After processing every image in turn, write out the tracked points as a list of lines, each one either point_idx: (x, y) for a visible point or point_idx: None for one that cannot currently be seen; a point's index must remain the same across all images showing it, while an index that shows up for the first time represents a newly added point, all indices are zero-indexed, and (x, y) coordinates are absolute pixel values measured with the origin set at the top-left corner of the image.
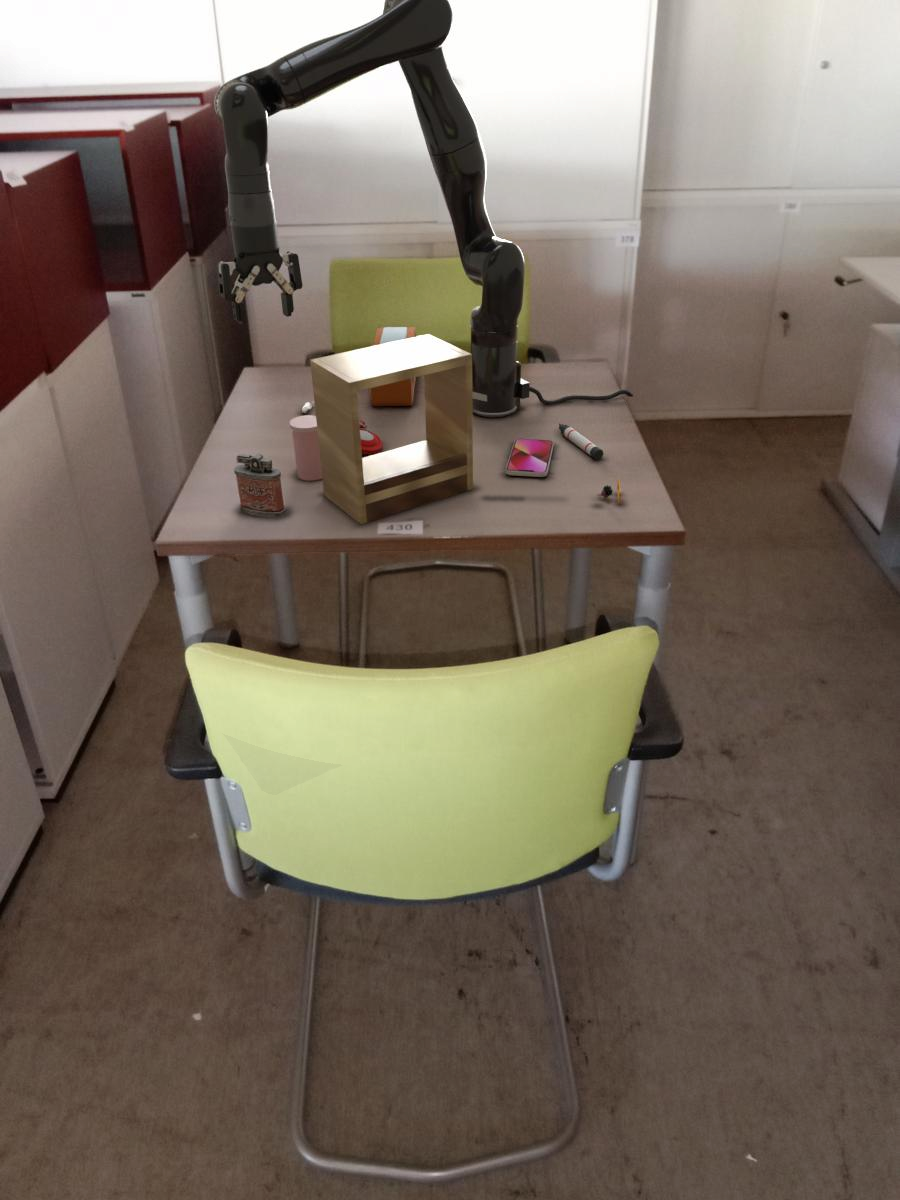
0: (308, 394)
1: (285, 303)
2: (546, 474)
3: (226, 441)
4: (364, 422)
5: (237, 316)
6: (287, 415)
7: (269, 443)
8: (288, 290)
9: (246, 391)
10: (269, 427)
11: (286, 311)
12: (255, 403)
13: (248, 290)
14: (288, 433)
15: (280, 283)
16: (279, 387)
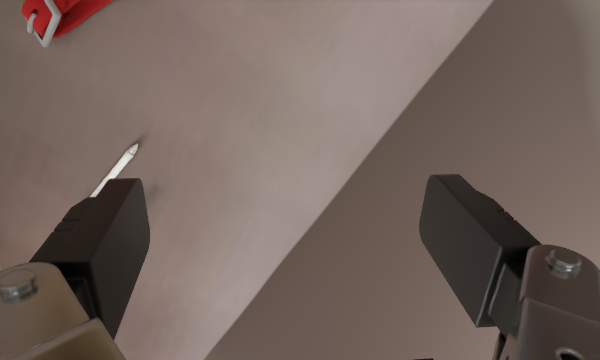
0: None
1: (118, 241)
2: None
3: (335, 166)
4: (23, 3)
5: (497, 205)
6: (176, 217)
7: (268, 106)
8: (36, 290)
9: (203, 347)
10: (233, 182)
11: (135, 204)
12: (210, 296)
13: (524, 299)
14: (210, 131)
15: (101, 335)
16: (139, 339)
